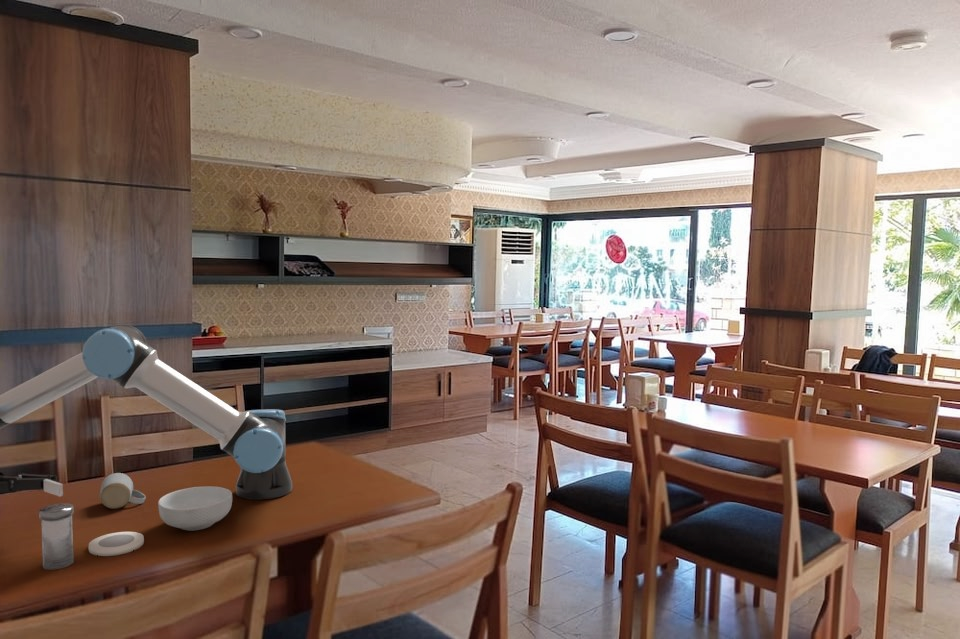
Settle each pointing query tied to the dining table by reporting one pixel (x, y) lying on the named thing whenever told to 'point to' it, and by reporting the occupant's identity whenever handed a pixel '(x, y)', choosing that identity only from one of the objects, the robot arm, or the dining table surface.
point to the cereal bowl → (195, 507)
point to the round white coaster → (116, 543)
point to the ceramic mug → (119, 491)
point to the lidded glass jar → (57, 535)
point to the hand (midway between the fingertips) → (29, 498)
